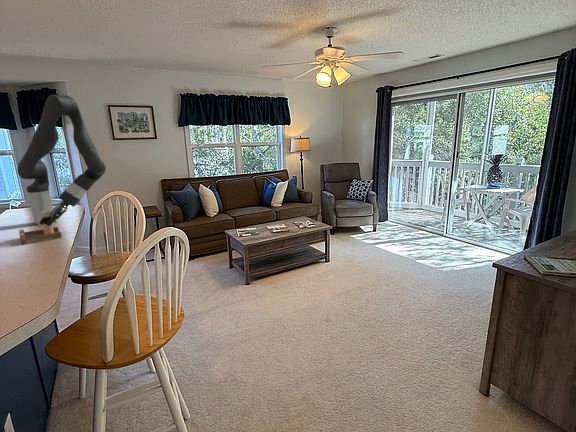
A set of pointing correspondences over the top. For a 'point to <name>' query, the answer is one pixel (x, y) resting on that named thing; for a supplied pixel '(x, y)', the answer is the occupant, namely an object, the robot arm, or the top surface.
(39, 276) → the top surface
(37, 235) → the trap box
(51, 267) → the top surface
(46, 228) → the grandmother figurine
